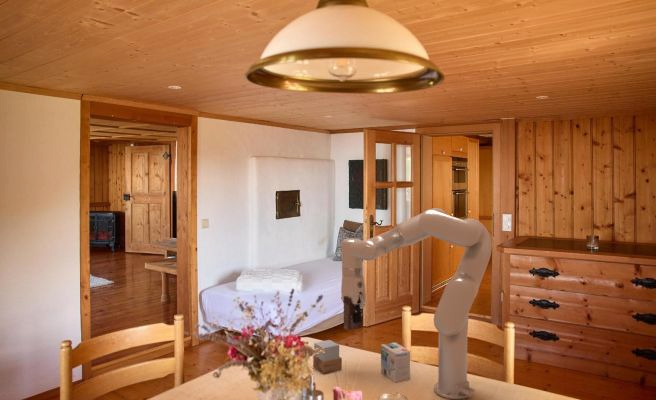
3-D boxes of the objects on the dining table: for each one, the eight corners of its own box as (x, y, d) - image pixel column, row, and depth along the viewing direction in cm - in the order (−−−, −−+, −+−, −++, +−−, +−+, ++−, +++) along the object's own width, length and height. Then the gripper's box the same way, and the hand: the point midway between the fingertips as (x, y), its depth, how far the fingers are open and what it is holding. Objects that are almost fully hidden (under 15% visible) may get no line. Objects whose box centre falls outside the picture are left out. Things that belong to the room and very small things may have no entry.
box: (350, 331, 177) (349, 298, 177) (343, 328, 181) (342, 296, 181) (363, 328, 181) (362, 295, 180) (356, 325, 184) (355, 293, 184)
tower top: (339, 357, 187) (339, 344, 186) (323, 361, 183) (323, 348, 183) (329, 352, 192) (329, 339, 192) (314, 355, 189) (314, 342, 189)
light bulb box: (380, 372, 185) (380, 344, 184) (395, 369, 187) (395, 341, 187) (394, 383, 175) (394, 353, 174) (410, 379, 177) (410, 350, 177)
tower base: (341, 370, 187) (341, 357, 186) (323, 375, 182) (323, 362, 182) (330, 364, 193) (330, 351, 193) (313, 368, 189) (313, 355, 189)
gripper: (374, 274, 175) (374, 324, 176) (348, 267, 189) (349, 314, 190) (356, 276, 171) (357, 328, 172) (331, 269, 185) (332, 317, 186)
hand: (353, 320), depth 181 cm, fingers closed on box, 4 cm apart
